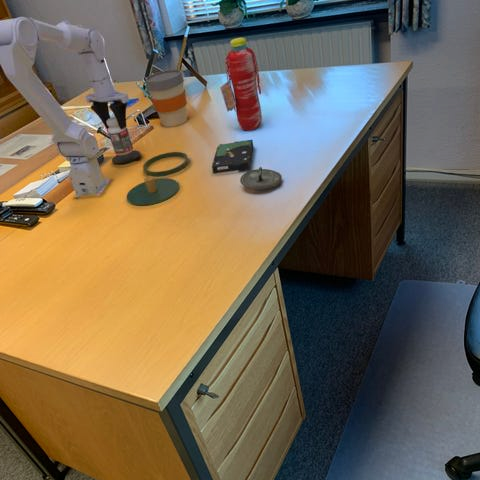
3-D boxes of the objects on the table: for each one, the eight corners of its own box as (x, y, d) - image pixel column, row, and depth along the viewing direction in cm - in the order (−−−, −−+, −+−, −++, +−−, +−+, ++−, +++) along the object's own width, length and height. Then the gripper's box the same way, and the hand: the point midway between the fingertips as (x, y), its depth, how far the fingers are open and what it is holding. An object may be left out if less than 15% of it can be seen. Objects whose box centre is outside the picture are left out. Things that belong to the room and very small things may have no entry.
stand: (137, 165, 145) (135, 161, 145) (109, 168, 147) (108, 164, 146) (144, 152, 152) (143, 148, 151) (118, 155, 154) (116, 152, 153)
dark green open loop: (184, 175, 134) (183, 169, 133) (139, 180, 136) (137, 174, 135) (193, 155, 144) (191, 149, 142) (151, 160, 146) (149, 154, 145)
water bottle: (227, 136, 150) (210, 47, 134) (227, 126, 156) (212, 40, 140) (265, 129, 149) (253, 38, 133) (264, 120, 155) (253, 32, 139)
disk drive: (251, 171, 129) (253, 148, 140) (249, 161, 127) (252, 138, 138) (213, 176, 131) (218, 152, 142) (211, 166, 129) (217, 143, 140)
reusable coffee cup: (197, 121, 166) (186, 74, 156) (162, 131, 163) (149, 84, 153) (186, 111, 175) (175, 67, 165) (153, 122, 172) (140, 77, 163)
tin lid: (173, 205, 122) (169, 188, 119) (121, 210, 124) (115, 194, 121) (184, 179, 132) (180, 163, 129) (135, 184, 135) (130, 169, 132)
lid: (239, 187, 126) (231, 171, 123) (271, 167, 126) (265, 151, 123) (255, 205, 119) (247, 189, 115) (289, 183, 119) (283, 166, 115)
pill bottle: (129, 155, 145) (118, 121, 139) (112, 156, 146) (101, 123, 140) (136, 147, 149) (126, 114, 143) (119, 148, 151) (108, 116, 144)
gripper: (129, 72, 133) (143, 122, 142) (90, 74, 140) (106, 121, 149) (112, 81, 129) (129, 132, 138) (74, 82, 135) (91, 130, 144)
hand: (116, 127), depth 143 cm, fingers closed on pill bottle, 5 cm apart
